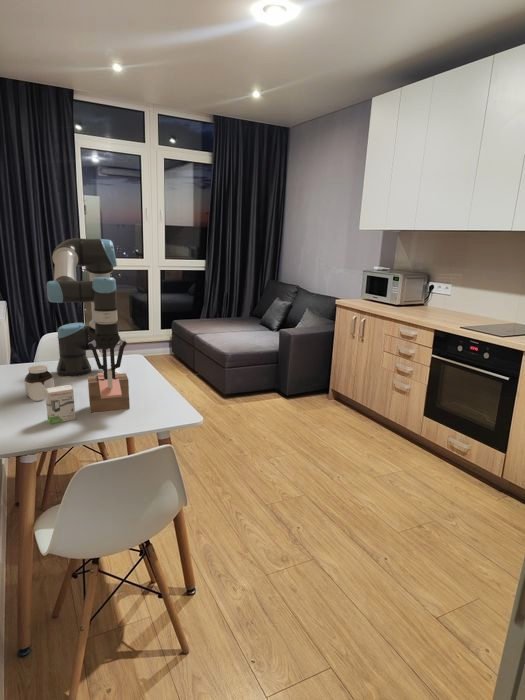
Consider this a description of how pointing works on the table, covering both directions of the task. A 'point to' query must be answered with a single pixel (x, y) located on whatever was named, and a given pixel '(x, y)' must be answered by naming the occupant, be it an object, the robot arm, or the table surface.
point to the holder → (108, 403)
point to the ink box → (60, 404)
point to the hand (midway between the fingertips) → (110, 386)
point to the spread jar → (38, 382)
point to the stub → (110, 389)
